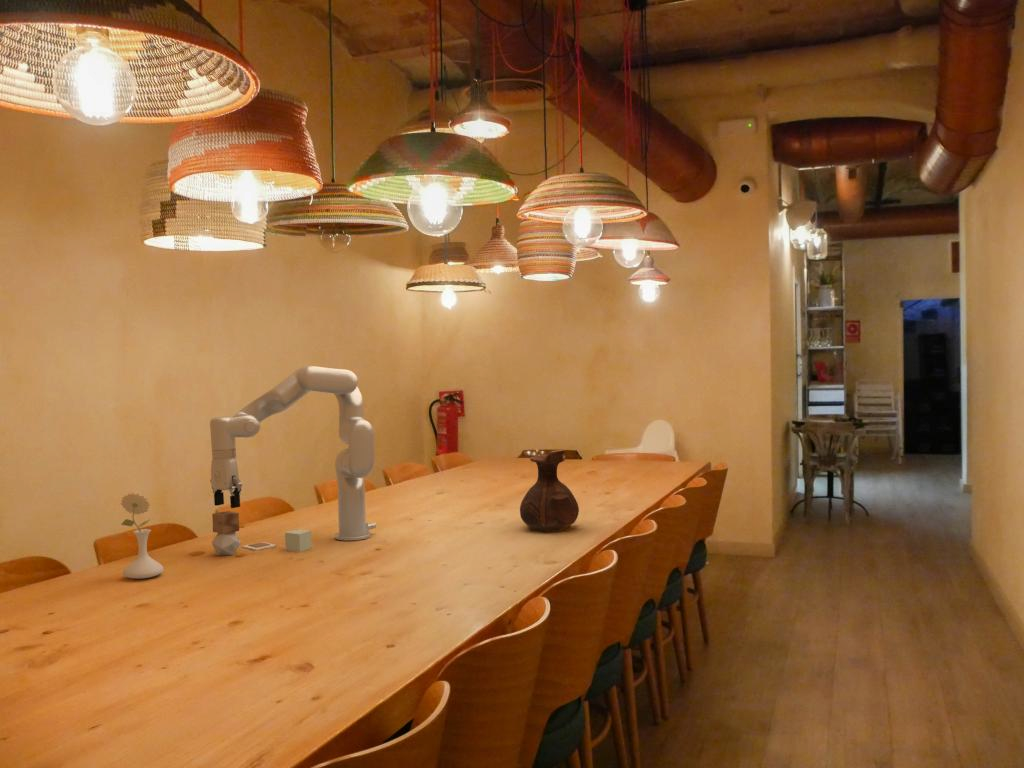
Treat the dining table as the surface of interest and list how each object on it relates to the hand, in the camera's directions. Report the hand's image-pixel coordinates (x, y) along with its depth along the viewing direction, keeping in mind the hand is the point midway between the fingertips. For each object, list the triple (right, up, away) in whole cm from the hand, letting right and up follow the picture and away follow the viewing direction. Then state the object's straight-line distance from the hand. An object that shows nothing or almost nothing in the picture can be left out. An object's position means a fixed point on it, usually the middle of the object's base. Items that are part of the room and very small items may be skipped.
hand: (227, 506), depth 293 cm
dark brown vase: (+107, -13, +33) cm, 113 cm away
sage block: (+22, -15, +6) cm, 27 cm away
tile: (+7, -15, +11) cm, 20 cm away
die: (0, -16, 0) cm, 16 cm away
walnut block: (0, -8, 0) cm, 8 cm away
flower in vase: (-17, -17, -28) cm, 37 cm away
